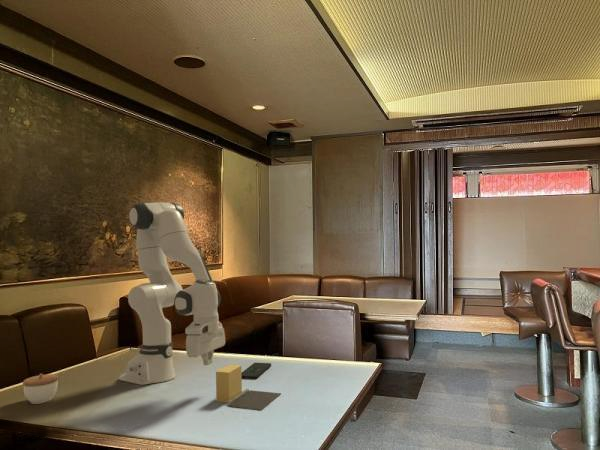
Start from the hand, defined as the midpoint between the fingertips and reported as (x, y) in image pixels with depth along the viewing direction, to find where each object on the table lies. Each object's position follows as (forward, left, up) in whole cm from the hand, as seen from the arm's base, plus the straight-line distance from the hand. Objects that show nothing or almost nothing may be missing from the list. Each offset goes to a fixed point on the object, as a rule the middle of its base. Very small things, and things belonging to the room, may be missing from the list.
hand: (207, 364), depth 157 cm
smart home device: (+3, +31, -12) cm, 34 cm away
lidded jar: (-55, -22, -11) cm, 60 cm away
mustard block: (+8, 0, -11) cm, 14 cm away
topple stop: (+17, 0, -11) cm, 20 cm away
